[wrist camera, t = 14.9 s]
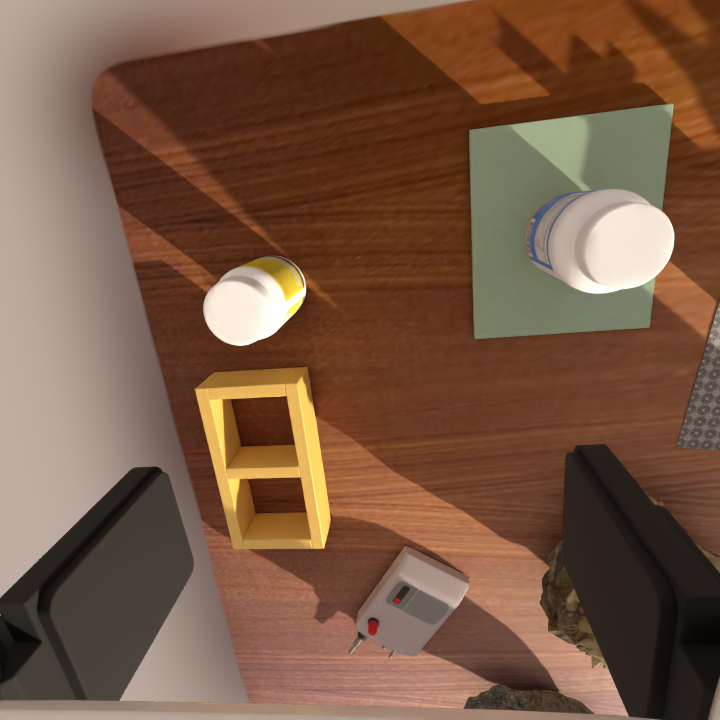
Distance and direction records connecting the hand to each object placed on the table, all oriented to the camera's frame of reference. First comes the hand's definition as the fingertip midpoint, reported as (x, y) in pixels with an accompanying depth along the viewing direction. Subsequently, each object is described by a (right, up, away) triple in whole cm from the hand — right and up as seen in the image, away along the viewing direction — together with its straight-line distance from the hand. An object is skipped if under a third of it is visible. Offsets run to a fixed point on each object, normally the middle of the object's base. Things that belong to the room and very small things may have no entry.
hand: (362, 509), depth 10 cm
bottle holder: (-7, -4, +29) cm, 30 cm away
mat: (+14, +12, +20) cm, 27 cm away
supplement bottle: (-6, +9, +24) cm, 26 cm away
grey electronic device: (+4, -20, +33) cm, 38 cm away
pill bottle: (+14, +12, +20) cm, 27 cm away
